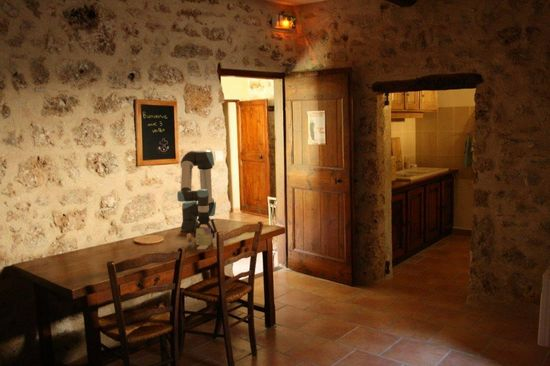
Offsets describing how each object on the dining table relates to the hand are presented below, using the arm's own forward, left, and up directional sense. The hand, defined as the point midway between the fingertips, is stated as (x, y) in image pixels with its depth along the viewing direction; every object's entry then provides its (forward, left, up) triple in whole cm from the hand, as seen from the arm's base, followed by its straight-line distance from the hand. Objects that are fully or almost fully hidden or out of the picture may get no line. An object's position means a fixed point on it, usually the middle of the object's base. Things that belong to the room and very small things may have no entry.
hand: (204, 242), depth 357 cm
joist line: (+2, +1, -1) cm, 3 cm away
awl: (+7, -9, -1) cm, 11 cm away
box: (0, 0, -2) cm, 2 cm away
